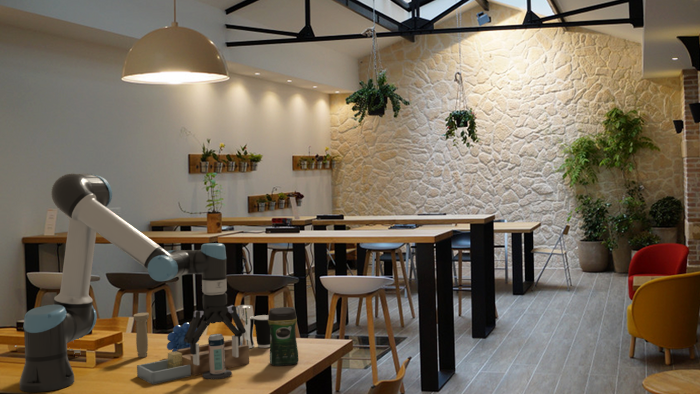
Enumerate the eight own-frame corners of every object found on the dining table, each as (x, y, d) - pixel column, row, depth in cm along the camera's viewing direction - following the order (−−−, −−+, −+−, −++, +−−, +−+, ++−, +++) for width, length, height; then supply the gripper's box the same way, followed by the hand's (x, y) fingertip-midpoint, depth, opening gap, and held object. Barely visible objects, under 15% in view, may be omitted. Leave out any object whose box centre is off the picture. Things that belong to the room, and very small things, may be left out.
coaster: (211, 381, 202) (210, 379, 202) (197, 375, 209) (197, 373, 209) (237, 375, 208) (237, 373, 208) (223, 369, 215) (223, 367, 215)
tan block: (173, 364, 209) (173, 355, 209) (167, 362, 212) (167, 352, 212) (182, 362, 211) (181, 353, 211) (176, 360, 214) (176, 351, 214)
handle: (152, 354, 238) (150, 312, 237) (146, 359, 231) (145, 316, 231) (138, 354, 238) (137, 312, 237) (132, 359, 231) (131, 316, 231)
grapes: (203, 353, 237) (202, 319, 237) (198, 358, 230) (197, 323, 230) (170, 354, 237) (169, 320, 237) (165, 358, 231) (163, 324, 230)
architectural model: (69, 359, 235) (68, 338, 234) (70, 355, 241) (69, 335, 241) (80, 358, 236) (79, 337, 236) (80, 354, 242) (79, 334, 242)
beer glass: (234, 346, 246) (231, 306, 245) (252, 343, 249) (249, 303, 248) (239, 350, 239) (237, 309, 239) (258, 347, 242) (255, 306, 242)
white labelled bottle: (218, 370, 212) (217, 332, 211) (228, 372, 209) (226, 334, 208) (206, 374, 208) (204, 335, 208) (216, 376, 205) (214, 337, 205)
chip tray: (152, 384, 200) (152, 372, 200) (137, 376, 210) (136, 365, 210) (190, 376, 208) (190, 364, 208) (174, 368, 217) (174, 358, 217)
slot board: (193, 375, 209) (193, 356, 209) (177, 368, 218) (176, 349, 218) (249, 363, 222) (248, 345, 221) (231, 356, 231) (230, 339, 231)
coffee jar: (297, 359, 225) (296, 304, 225) (299, 365, 217) (297, 308, 217) (269, 361, 224) (267, 306, 224) (269, 367, 216) (267, 310, 216)
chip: (182, 372, 210) (173, 374, 208) (176, 370, 213) (167, 372, 211) (182, 363, 210) (173, 365, 208) (176, 360, 213) (167, 362, 211)
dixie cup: (279, 346, 244) (278, 317, 244) (260, 349, 239) (260, 319, 239) (267, 342, 250) (267, 314, 250) (249, 346, 245) (249, 316, 245)
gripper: (182, 299, 197) (184, 370, 198) (255, 289, 213) (256, 355, 213) (171, 296, 203) (173, 365, 203) (243, 287, 219) (244, 351, 219)
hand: (216, 360), depth 208 cm, fingers open, 13 cm apart
